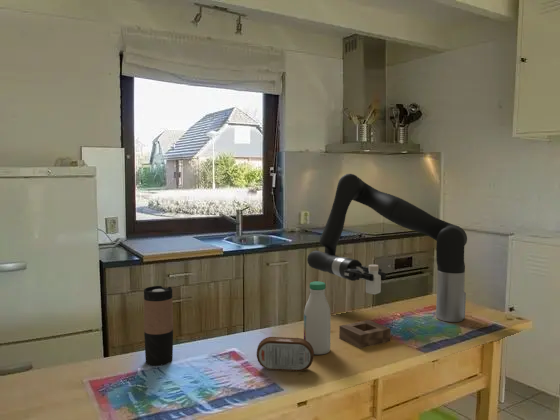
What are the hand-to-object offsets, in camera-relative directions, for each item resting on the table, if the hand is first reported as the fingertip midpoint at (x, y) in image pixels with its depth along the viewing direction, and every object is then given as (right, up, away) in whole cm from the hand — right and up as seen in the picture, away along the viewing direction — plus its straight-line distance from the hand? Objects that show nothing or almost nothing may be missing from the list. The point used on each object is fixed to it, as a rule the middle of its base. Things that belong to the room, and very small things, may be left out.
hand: (378, 277), depth 155 cm
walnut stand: (-6, -18, -10) cm, 22 cm away
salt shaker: (-1, -6, +3) cm, 7 cm away
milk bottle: (-22, -19, -19) cm, 35 cm away
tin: (-31, -20, -32) cm, 49 cm away
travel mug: (-66, -19, -27) cm, 74 cm away
